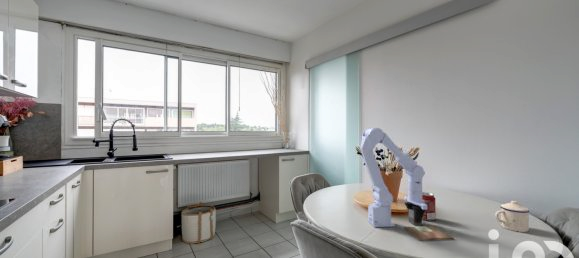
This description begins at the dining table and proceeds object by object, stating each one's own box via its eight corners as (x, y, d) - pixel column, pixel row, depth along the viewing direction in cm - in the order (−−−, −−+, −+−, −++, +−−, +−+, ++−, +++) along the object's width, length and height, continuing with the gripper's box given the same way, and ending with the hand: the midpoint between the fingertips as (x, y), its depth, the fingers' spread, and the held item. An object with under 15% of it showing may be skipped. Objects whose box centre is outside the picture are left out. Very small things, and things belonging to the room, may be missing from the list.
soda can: (438, 221, 110) (437, 196, 110) (422, 220, 111) (421, 195, 111) (432, 216, 117) (432, 192, 117) (417, 215, 118) (417, 191, 118)
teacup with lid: (517, 224, 107) (517, 198, 107) (535, 233, 98) (535, 204, 98) (488, 223, 108) (488, 197, 108) (503, 231, 99) (503, 204, 99)
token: (413, 225, 106) (413, 211, 106) (408, 221, 110) (408, 209, 110) (422, 225, 107) (422, 211, 107) (417, 221, 111) (416, 208, 111)
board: (419, 240, 92) (419, 238, 92) (403, 228, 103) (403, 226, 103) (453, 239, 92) (453, 237, 92) (435, 227, 103) (434, 225, 103)
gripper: (434, 194, 102) (434, 226, 102) (414, 186, 116) (414, 214, 116) (418, 195, 101) (418, 226, 101) (400, 186, 116) (400, 214, 116)
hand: (415, 220), depth 109 cm, fingers closed on token, 4 cm apart
